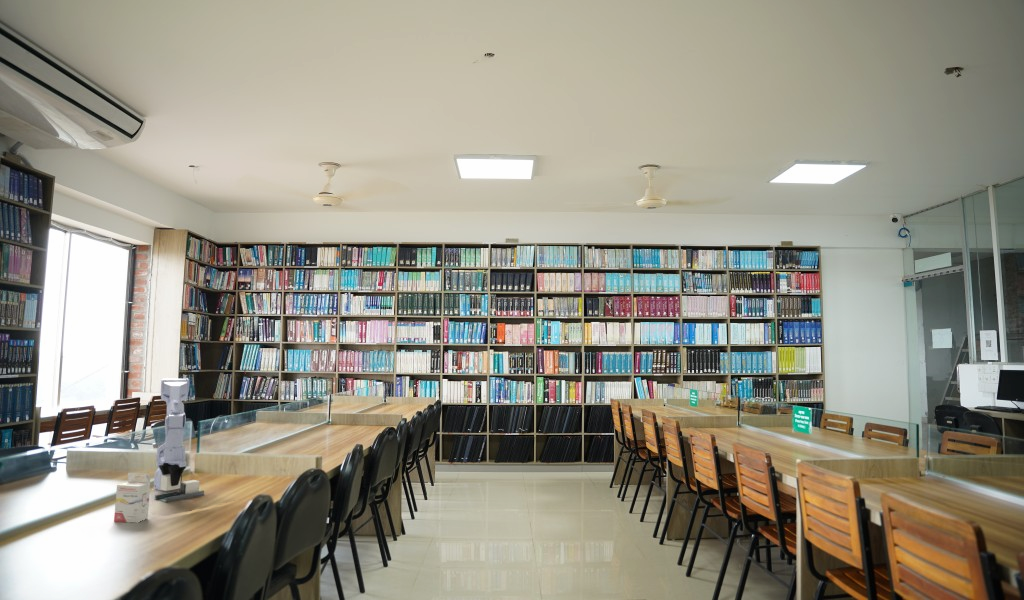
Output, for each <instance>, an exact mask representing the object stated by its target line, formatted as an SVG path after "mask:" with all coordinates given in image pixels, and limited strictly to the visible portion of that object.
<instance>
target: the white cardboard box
mask: <svg viewBox="0 0 1024 600" xmlns="http://www.w3.org/2000/svg"><path fill="white" fill-rule="evenodd" d="M182 478H183V475H181V477H180V480H179V483H178V485H176V486H171V477H170V474H166V475H161V487H160V489H161V490H165V492H167V491H172V490H173V489H175V490H179V488H180V485H181V484H182V482H183V481H182V480H183V479H182ZM161 490H160V491H161ZM173 491H174V490H173Z"/></svg>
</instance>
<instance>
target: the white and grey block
mask: <svg viewBox="0 0 1024 600" xmlns="http://www.w3.org/2000/svg"><path fill="white" fill-rule="evenodd" d="M200 482H201V481H200V480H196V479H190V480H184V481H182V484H181V485H180V488H178V491H179V494H180V495H182V494H187V493H192V492H197V491H200Z"/></svg>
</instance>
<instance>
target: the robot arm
mask: <svg viewBox="0 0 1024 600" xmlns="http://www.w3.org/2000/svg"><path fill="white" fill-rule="evenodd" d="M160 384H161V385H160V398H161V401H164V402H165V403H166V415H165V418H164V419H165V421H164V430H165V432H164V433H165V434H164V435H165V439H164V440H165V441H164V443H163V444H160V445H159V446H158V447H157V449H156V457H155V467H156V468H157V469H156V470H155V472H154V475H153V477H154V479H153V488H152V489H151V488H150V489H151V491H152V490H157V491H165V490H161V489H160V487H161V475H166V474H170V477H171V486H176V485H178V483H179V480H180V477H181V475H182V474H183V473H184V471H185V470H186V467H187V460H186V447H185V445H184V432H185V431H184V430H185V428H186V420H187V419H186V418H187V417H186V412H185V404H184V403H183V401H185V400H187V399H188V398H187V397H188V395H189V391H190V379H189V378H188V377H186V378H162V379H161V381H160ZM182 476H183V475H182ZM174 490H175V491H176V489H173V491H174ZM165 492H166V491H165Z"/></svg>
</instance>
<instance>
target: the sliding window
mask: <svg viewBox="0 0 1024 600" xmlns="http://www.w3.org/2000/svg"><path fill="white" fill-rule="evenodd" d="M202 496H205V490H199V491H197V492H192V493H187V494H182V495H180V494H179V490H175V491H170V492H165V493H160V494H155V495H154V498H153V500H155V501H159V502H162V503H166V504H168V503H169V504H170V503H173V502H178V501H183V500H187V499H193V498H197V497H198V498H199V497H202Z"/></svg>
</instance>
